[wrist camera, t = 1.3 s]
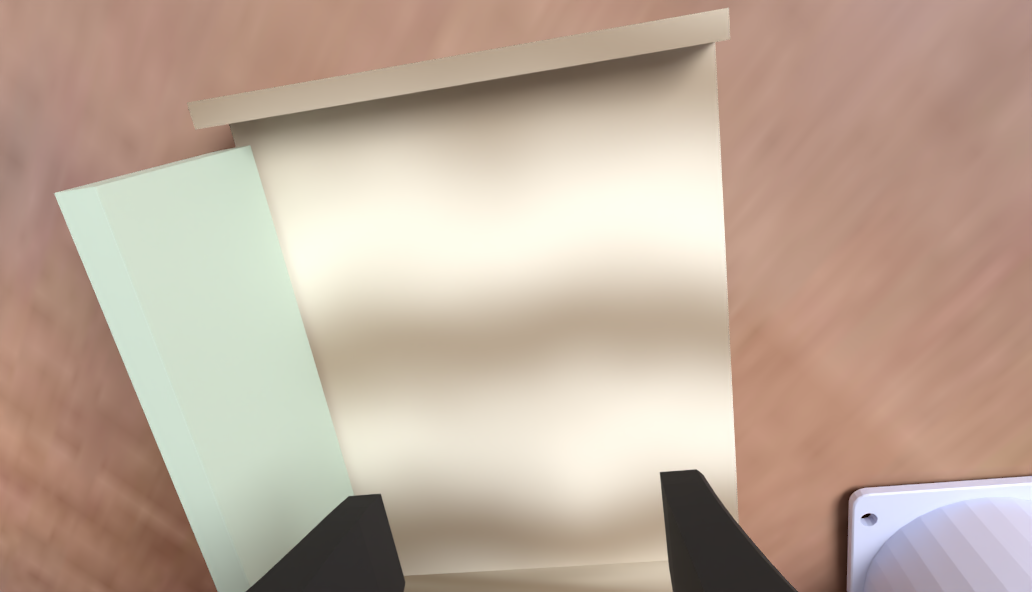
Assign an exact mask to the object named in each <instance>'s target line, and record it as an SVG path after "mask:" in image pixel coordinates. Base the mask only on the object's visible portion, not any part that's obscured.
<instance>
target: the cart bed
mask: <svg viewBox="0 0 1032 592" xmlns="http://www.w3.org/2000/svg"><path fill="white" fill-rule="evenodd" d="M724 40H730V23H729V8H725V9H719V10H713V11H708V12H702V13H696V14H690V15H685V16H679V17H673V18H668V19H662V20H656V21H651V22H645V23H639V24H633V25H628V26H622V27H616V28H611V29H605V30H599V31H593V32H588V33H582V34H576V35H571V36H565V37H559V38H553V39H548V40H542V41H536V42H531V43H525V44H519V45H514V46H508V47H502V48H496V49H491V50H485V51H479V52H474V53H468V54H462V55H456V56H451V57H445V58H439V59H434V60H428V61H422V62H417V63H411V64H405V65H399V66H394V67H388V68H382V69H377V70H371V71H365V72H359V73H354V74H348V75H342V76H337V77H331V78H325V79H320V80H314V81H308V82H302V83H297V84H291V85H285V86H280V87H274V88H268V89H262V90H257V91H251V92H245V93H240V94H234V95H228V96H223V97H217V98H211V99H205V100H200V101H194V102H188V103H187V105H188V108H189V111H190V114H191V117H192V120H193V123H194V127H195V130H196V129H201V128H207V127H213V126H219V125H225V124H229V126H230V129H231V132H232V135H233V139H234V142H235V145H236V147H242V146H248V145H250V146H251V149H252V152H253V156H254V159H255V163H256V166H257V169H258V173H259V176H260V179H261V183H262V186H263V190H264V193H265V196H266V200H267V203H268V206H269V210H270V213H271V217H272V220H273V223H274V227H275V230H276V233H277V237H278V240H279V244H280V247H281V250H282V254H283V257H284V260H285V264H286V267H287V270H288V274H289V277H290V281H291V284H292V287H293V291H294V294H295V297H296V301H297V304H298V308H299V311H300V314H301V318H302V321H303V324H304V328H305V331H306V335H307V338H308V341H309V345H310V348H311V351H312V355H313V358H314V361H315V365H316V368H317V372H318V375H319V378H320V382H321V385H322V388H323V392H324V395H325V399H326V402H327V405H328V409H329V412H330V415H331V419H332V422H333V426H334V429H335V432H336V436H337V439H338V442H339V446H340V449H341V452H342V456H343V459H344V463H345V466H346V469H347V473H348V476H349V479H350V483H351V486H352V490H353V493H354V496H356V495H369V494H381V496H382V500H383V503H384V507H385V510H386V514H387V518H388V521H389V525H390V528H391V532H392V536H393V539H394V543H395V546H396V550H397V553H398V557H399V561H400V564H401V568H402V571H403V575H404V579H405V582H406V583H405V588H404V592H673V590H672V583H671V577H670V571H669V563H668V553H667V542H666V532H665V522H664V512H663V501H662V491H661V481H660V472H667V471H680V470H693V469H697V470H698V471H699V472H701V473H702V474H703V475H704V476H705V478H706V480H707V481H708V483H709V484H710V486H711V487H712V489H713V491H714V492H715V493H716V495H717V496H718V498H719V499H720V501H721V502H722V503H723V505H724V506H725V507H726V509H727V510H728V511H729V513H730V514H731V515H732V517H733V518H734V519H735V521H736V522H737V523H738V524H739V520H738V499H737V479H736V458H735V438H734V417H733V397H732V376H731V356H730V335H729V315H728V294H727V273H726V253H725V232H724V212H723V191H722V171H721V150H720V130H719V109H718V89H717V68H716V48H715V42H718V41H724Z"/></svg>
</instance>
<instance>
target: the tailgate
mask: <svg viewBox="0 0 1032 592" xmlns="http://www.w3.org/2000/svg"><path fill="white" fill-rule="evenodd" d="M54 194H55V196H56V199H57V201H58V204H59V206H60V208H61V211H62V213H63V216H64V218H65V221H66V223H67V225H68V228H69V230H70V233H71V235H72V238H73V240H74V243H75V245H76V247H77V250H78V252H79V255H80V257H81V260H82V262H83V264H84V267H85V269H86V272H87V274H88V277H89V279H90V282H91V284H92V286H93V289H94V291H95V294H96V296H97V299H98V301H99V303H100V306H101V308H102V311H103V313H104V316H105V318H106V320H107V323H108V325H109V328H110V330H111V333H112V335H113V338H114V340H115V342H116V345H117V347H118V350H119V352H120V355H121V357H122V359H123V362H124V364H125V367H126V369H127V372H128V374H129V377H130V379H131V381H132V384H133V386H134V389H135V391H136V394H137V396H138V398H139V401H140V403H141V406H142V408H143V411H144V413H145V415H146V418H147V420H148V423H149V425H150V428H151V430H152V433H153V435H154V437H155V440H156V442H157V445H158V447H159V450H160V452H161V454H162V457H163V459H164V462H165V464H166V467H167V469H168V472H169V474H170V476H171V479H172V481H173V484H174V486H175V489H176V491H177V493H178V496H179V498H180V501H181V503H182V506H183V508H184V510H185V513H186V515H187V518H188V520H189V523H190V525H191V528H192V530H193V532H194V535H195V537H196V540H197V542H198V545H199V547H200V549H201V552H202V554H203V557H204V559H205V562H206V564H207V566H208V569H209V571H210V574H211V576H212V579H213V581H214V584H215V586H216V588H217V591H218V592H246V591H247V590H248V589H249V588H250V587H251V586H253V585H254V584H255V583H256V582H257V581H258V580H259V579H260V578H262V577H263V576H264V575H265V574H266V573H267V572H268V571H269V570H270V569H271V568H272V567H273V566H274V565H275V564H277V563H278V562H279V561H280V560H281V559H282V558H283V557H284V556H285V555H286V554H287V553H288V552H289V551H290V550H291V549H293V548H294V547H295V546H296V545H297V544H298V543H299V542H300V541H301V540H302V539H303V538H304V537H305V536H306V535H307V534H308V533H309V532H310V531H311V530H312V529H313V528H315V527H316V526H317V525H318V524H319V523H320V522H321V521H322V520H323V519H324V518H325V517H326V516H327V515H328V514H329V513H330V512H331V511H333V510H334V509H335V508H336V507H337V506H338V505H339V504H340V503H341V502H343V501H344V500H345V499H346V498H347V497H348V496H354V493H353V490H352V486H351V483H350V479H349V476H348V473H347V469H346V466H345V463H344V459H343V456H342V452H341V449H340V446H339V442H338V439H337V436H336V432H335V429H334V426H333V422H332V419H331V415H330V412H329V409H328V405H327V402H326V399H325V395H324V392H323V388H322V385H321V382H320V378H319V375H318V372H317V368H316V365H315V361H314V358H313V355H312V351H311V348H310V345H309V341H308V338H307V335H306V331H305V328H304V324H303V321H302V318H301V314H300V311H299V308H298V304H297V301H296V297H295V294H294V291H293V287H292V284H291V281H290V277H289V274H288V270H287V267H286V264H285V260H284V257H283V254H282V250H281V247H280V244H279V240H278V237H277V233H276V230H275V227H274V223H273V220H272V217H271V213H270V210H269V206H268V203H267V200H266V196H265V193H264V190H263V186H262V183H261V179H260V176H259V173H258V169H257V166H256V163H255V159H254V156H253V152H252V149H251V146H250V145H248V146H242V147H236V148H230V149H224V150H219V151H215V152H211V153H207V154H204V155H200V156H196V157H192V158H188V159H184V160H180V161H176V162H173V163H169V164H165V165H161V166H157V167H153V168H149V169H146V170H142V171H138V172H134V173H130V174H126V175H122V176H118V177H115V178H111V179H107V180H103V181H99V182H95V183H91V184H88V185H84V186H80V187H76V188H72V189H68V190H64V191H60V192H57V193H54Z"/></svg>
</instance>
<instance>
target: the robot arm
mask: <svg viewBox="0 0 1032 592" xmlns="http://www.w3.org/2000/svg"><path fill="white" fill-rule="evenodd" d="M660 481H661V491H662V501H663V512H664V522H665V532H666V542H667V553H668V563H669V571H670V577H671V583H672V590H673V592H798V591H797V590H796V589H795V588H794V587H793V586H792V585H791V584H790V583H789V582H788V581H787V580H786V579H785V578H784V577H783V576H782V574H781V573H780V572H779V571H778V570H777V569H776V568H775V567H774V566H773V565H772V563H771V562H770V561H769V560H768V559H767V558H766V556H765V555H764V554H763V553H762V552H761V551H760V549H759V548H758V547H757V546H756V545H755V544H754V542H753V541H752V540H751V539H750V538H749V537H748V535H747V534H746V533H745V532H744V531H743V529H742V528H741V527H740V526H739V524H738V523H737V522H736V521H735V519H734V518H733V517H732V515H731V514H730V513H729V511H728V510H727V509H726V507H725V506H724V505H723V503H722V502H721V501H720V499H719V498H718V496H717V495H716V493H715V492H714V491H713V489H712V487H711V486H710V484H709V483H708V481H707V480H706V478H705V476H704V475H703V474H702V473H701V472H699V471H698V470H697V469H693V470H680V471H667V472H660ZM868 513H871V515H870V516H869V517H866V518H861V517H862V516H863V515H865V514H868ZM405 583H406V582H405V579H404V575H403V571H402V568H401V564H400V561H399V557H398V553H397V550H396V546H395V543H394V539H393V536H392V532H391V528H390V525H389V521H388V518H387V514H386V510H385V507H384V503H383V500H382V496H381V494H369V495H356V496H348V497H347V498H346V499H345V500H344V501H343V502H341V503H340V504H339V505H338V506H337V507H336V508H335V509H334V510H333V511H331V512H330V513H329V514H328V515H327V516H326V517H325V518H324V519H323V520H322V521H321V522H320V523H319V524H318V525H317V526H316V527H315V528H313V529H312V530H311V531H310V532H309V533H308V534H307V535H306V536H305V537H304V538H303V539H302V540H301V541H300V542H299V543H298V544H297V545H296V546H295V547H294V548H293V549H291V550H290V551H289V552H288V553H287V554H286V555H285V556H284V557H283V558H282V559H281V560H280V561H279V562H278V563H277V564H275V565H274V566H273V567H272V568H271V569H270V570H269V571H268V572H267V573H266V574H265V575H264V576H263V577H262V578H260V579H259V580H258V581H257V582H256V583H255V584H254V585H253V586H251V587H250V588H249V589H248V590H247V591H246V592H404V588H405ZM847 592H1032V476H1026V477H1011V478H997V479H983V480H969V481H955V482H941V483H926V484H912V485H898V486H884V487H870V488H862V489H859V490H857V491H855V492H854V493H853V494H852V495H851V496H850V499H849V516H848V558H847Z"/></svg>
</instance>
